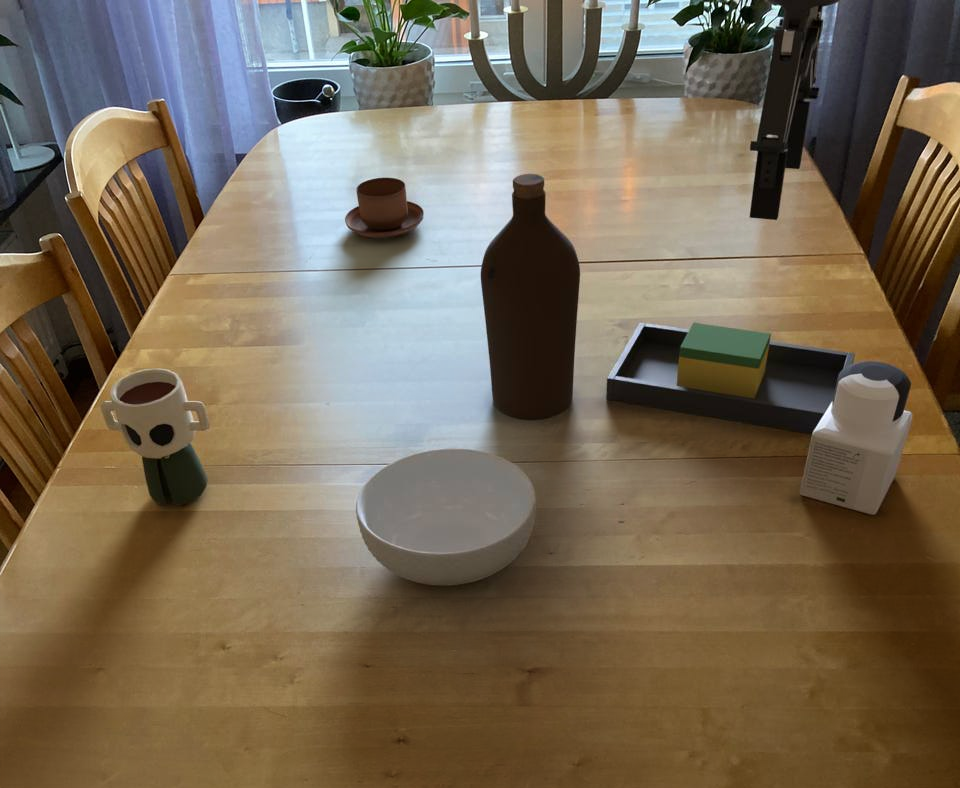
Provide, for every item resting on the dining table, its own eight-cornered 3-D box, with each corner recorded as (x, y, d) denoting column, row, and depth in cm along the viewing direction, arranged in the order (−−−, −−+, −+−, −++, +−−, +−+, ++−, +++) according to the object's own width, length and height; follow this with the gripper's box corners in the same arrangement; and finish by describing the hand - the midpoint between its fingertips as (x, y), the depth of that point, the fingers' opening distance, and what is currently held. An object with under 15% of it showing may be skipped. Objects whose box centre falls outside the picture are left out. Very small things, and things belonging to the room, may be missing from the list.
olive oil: (557, 430, 112) (558, 206, 95) (472, 412, 116) (457, 193, 98) (591, 383, 119) (597, 165, 101) (509, 367, 123) (501, 154, 105)
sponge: (764, 372, 117) (771, 333, 114) (754, 399, 113) (760, 359, 110) (688, 360, 120) (693, 322, 116) (676, 386, 116) (679, 347, 113)
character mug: (121, 512, 106) (79, 406, 97) (142, 472, 111) (105, 367, 102) (220, 513, 105) (188, 406, 96) (237, 472, 110) (208, 367, 101)
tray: (850, 374, 117) (855, 353, 115) (832, 437, 109) (837, 415, 107) (638, 342, 125) (639, 322, 123) (605, 399, 116) (606, 378, 114)
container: (821, 456, 107) (847, 345, 97) (895, 475, 103) (929, 363, 94) (798, 496, 102) (822, 383, 93) (874, 517, 99) (907, 403, 90)
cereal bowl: (559, 520, 101) (560, 463, 96) (500, 630, 91) (497, 572, 86) (408, 489, 106) (401, 432, 101) (335, 589, 96) (323, 532, 91)
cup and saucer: (333, 226, 155) (326, 185, 150) (399, 205, 159) (395, 165, 154) (370, 252, 147) (364, 210, 143) (439, 230, 152) (436, 188, 147)
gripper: (790, -81, 99) (761, 146, 114) (739, -17, 83) (714, 237, 98) (870, -82, 96) (830, 150, 111) (833, -16, 80) (792, 244, 95)
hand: (775, 191), depth 104 cm, fingers open, 13 cm apart
